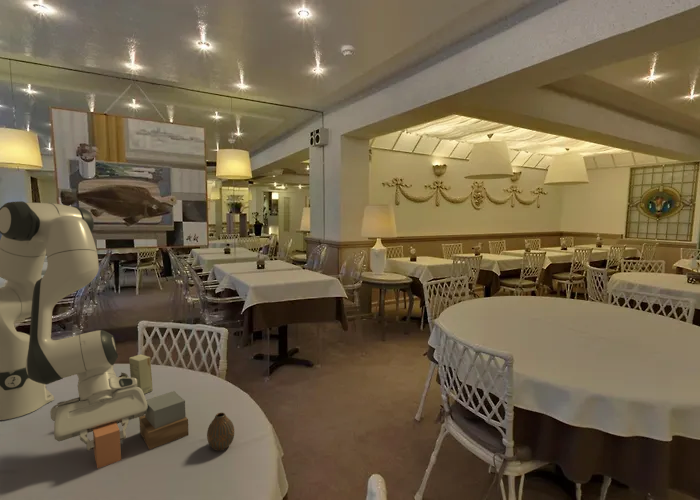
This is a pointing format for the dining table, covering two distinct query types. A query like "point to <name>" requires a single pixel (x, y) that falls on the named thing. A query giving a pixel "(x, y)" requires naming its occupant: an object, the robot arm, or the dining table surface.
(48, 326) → the robot arm
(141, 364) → the skincare box
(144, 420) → the tower base block
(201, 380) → the dining table surface
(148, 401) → the tower top block
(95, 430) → the terracotta block
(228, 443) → the vase
